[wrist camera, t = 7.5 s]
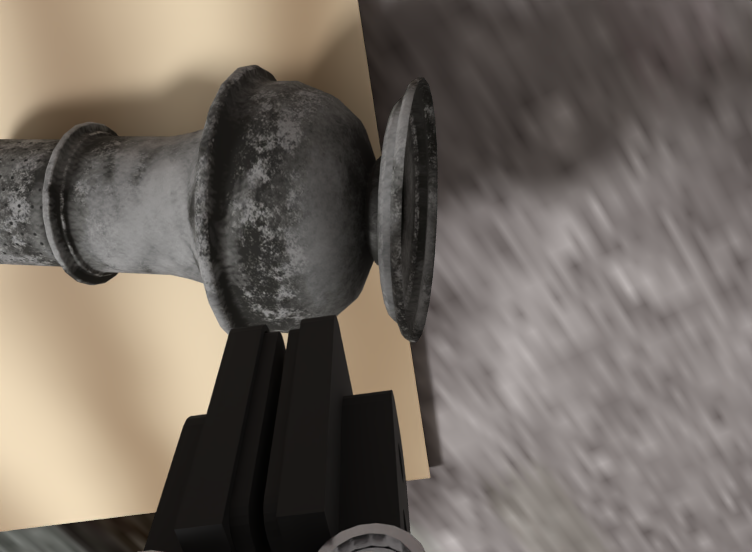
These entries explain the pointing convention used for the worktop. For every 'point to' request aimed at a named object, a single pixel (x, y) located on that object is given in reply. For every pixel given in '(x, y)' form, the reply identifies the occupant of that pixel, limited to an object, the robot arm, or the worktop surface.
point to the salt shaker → (240, 204)
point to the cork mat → (151, 291)
